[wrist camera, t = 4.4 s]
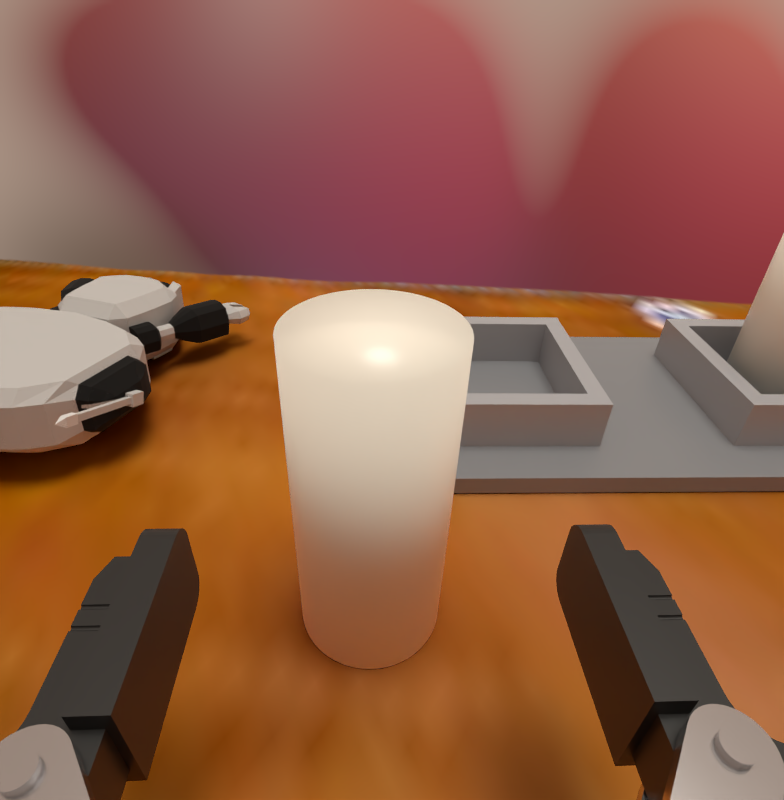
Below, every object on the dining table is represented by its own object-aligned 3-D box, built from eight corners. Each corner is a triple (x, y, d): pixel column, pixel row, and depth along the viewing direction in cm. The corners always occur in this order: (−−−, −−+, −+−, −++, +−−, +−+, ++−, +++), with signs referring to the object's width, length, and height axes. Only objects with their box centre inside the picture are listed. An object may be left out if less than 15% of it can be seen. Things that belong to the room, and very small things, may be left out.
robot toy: (97, 321, 35) (-164, 447, 23) (81, 252, 33) (-220, 350, 21) (267, 354, 33) (75, 516, 20) (262, 281, 30) (42, 414, 18)
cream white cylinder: (430, 548, 20) (458, 290, 14) (445, 667, 16) (491, 384, 10) (308, 550, 19) (285, 287, 14) (295, 670, 16) (258, 382, 10)
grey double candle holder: (763, 350, 33) (856, 158, 27) (934, 490, 23) (1142, 238, 17) (402, 347, 32) (411, 147, 26) (418, 493, 22) (441, 224, 16)
